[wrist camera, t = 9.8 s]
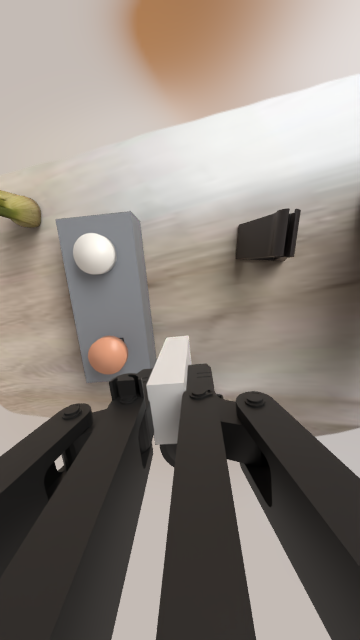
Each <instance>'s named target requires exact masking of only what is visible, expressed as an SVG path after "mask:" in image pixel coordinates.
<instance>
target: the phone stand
mask: <svg viewBox="0 0 360 640" xmlns="http://www.w3.org/2000/svg"><path fill="white" fill-rule="evenodd" d="M300 211H301V210H299V209H295V213H292V214H289V209H282V210H279V211H277V212H276V213H274V214H272V215H269V216H266V217H262V218H259V219H256V220H253V221H250V222H247V223H243V224H240V225H239V231H238V242H237V253H236V259H250V260H273V261H285V260H286V259H287V258H288V257H294V253H295V246H296V239H297V232H298V225H299V218H300Z"/></svg>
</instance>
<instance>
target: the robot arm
mask: <svg viewBox="0 0 360 640" xmlns="http://www.w3.org/2000/svg"><path fill="white" fill-rule="evenodd" d="M109 385H110V391H111V396H112V402H111V403H110V405H109V406H108V408H107V409H105V410H101V411H97V412H93V413H92V411H91V407H90V406H89V405H88V404H75V405H74V404H73V405H70V406H69V407H66V408H64V409H63V410H61V411H59V412H58V413H57V414H55V415H54V416H53V417H51V418H50V419H49V420H48V421H46V422H45V423H44V424H42V425H41V426H40V427H38V428H37V429H36V430H34V431H33V432H32V433H31V434H29V435H28V436H27V437H25V438H24V439H23V440H21V441H20V442H19V443H17V444H16V445H15V446H14V447H12V448H11V449H10V450H9V451H7V452H6V453H4V454H3V455H2V456H0V640H111V638H112V634H113V629H114V625H115V620H116V616H117V612H118V607H119V603H120V598H121V594H122V589H123V585H124V581H125V576H126V571H127V567H128V563H129V558H130V554H131V549H132V545H133V540H134V536H135V532H136V527H137V523H138V518H139V514H140V510H141V505H142V501H143V496H144V492H145V487H146V483H147V479H148V474H149V470H150V465H151V461H152V456H153V448H152V438H153V435H154V439H155V445H158V444H177V449H176V458H175V467H174V477H173V486H172V495H171V505H170V514H169V523H168V533H167V542H166V551H165V561H164V570H163V579H162V588H161V598H160V607H159V616H158V625H157V635H156V640H256V636H255V631H254V624H253V618H252V612H251V605H250V599H249V594H248V587H247V581H246V576H245V569H244V563H243V556H242V550H241V545H240V539H239V532H238V526H237V520H236V514H235V508H234V501H233V495H232V490H231V484H230V477H229V471H228V465H227V459H229V460H233V461H237V462H240V466H241V468H242V471H243V473H244V474H245V476H246V478H247V480H248V482H249V484H250V486H251V488H252V490H253V491H254V493H255V495H256V497H257V499H258V501H259V503H260V505H261V507H262V509H263V510H264V512H265V514H266V516H267V518H268V520H269V522H270V524H271V525H272V527H273V529H274V531H275V533H276V535H277V537H278V538H279V541H280V542H281V545H282V546H283V548H284V550H285V552H286V554H287V556H288V558H289V560H290V561H291V563H292V565H293V567H294V569H295V571H296V573H297V575H298V577H299V579H300V580H301V582H302V584H303V586H304V588H305V590H306V592H307V594H308V596H309V598H310V599H311V601H312V603H313V605H314V607H315V609H316V611H317V613H318V614H319V617H320V618H321V620H322V622H323V624H324V626H325V628H326V630H327V632H328V634H329V635H330V637H331V639H332V640H360V478H359V477H358V476H356V475H355V474H354V473H353V472H352V471H351V470H350V469H349V468H348V467H347V466H345V464H343V463H342V462H341V461H340V460H339V459H338V458H337V457H336V456H335V455H334V454H333V453H331V452H330V451H329V450H328V449H327V448H326V447H325V446H324V445H323V444H322V443H321V442H319V441H318V440H317V439H316V438H315V437H314V436H313V435H312V434H311V433H310V432H309V431H308V430H306V429H305V428H304V427H303V426H302V425H301V424H300V423H299V422H298V421H297V420H296V419H295V418H293V417H292V416H291V415H290V414H289V413H288V412H287V411H286V410H285V409H284V408H283V407H281V406H280V405H279V404H278V403H277V402H276V401H275V400H274V399H273V398H272V397H270V396H268V395H267V394H264V393H261V392H255V391H251V392H245V393H242V394H240V395H239V396H238V397H237V398H236V402H233V401H227V400H224V399H221V398H220V397H218V396H217V395H216V393H215V391H214V385H213V378H212V372H211V367H210V366H208V365H207V364H195V365H192V363H191V354H190V344H189V336H178V337H167V338H166V340H165V342H164V345H163V347H162V349H161V352H160V354H159V357H158V359H157V361H156V364H155V366H154V368H152V369H142V370H141V371H140V372H138V373H137V374H136V373H127V374H122V375H119V376H116V377H115V378H113V379H111V380H110V381H109ZM61 454H62V458H63V462H64V466H63V467H62V468H61V469H59V470H58V471H57V469H56V466H55V462H54V461H55V460H56V459H57V458H58V457H59V456H60V455H61Z"/></svg>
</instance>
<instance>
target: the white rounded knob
mask: <svg viewBox="0 0 360 640" xmlns="http://www.w3.org/2000/svg"><path fill="white" fill-rule="evenodd" d="M73 257H74V260H75V262H76V264H77V266H78V267H79V268H80V269H81V270H83V271H84V272H86V273H88V274H104V273H107V272H109V271H110V270H111V269H112V268H113V267H114V265H115V263H116V258H117V255H116V250H115V247H114V245H113V244H112V242H111V241H110V240H109V239H107V238H106V237H104V236H101V235H99V234H96V233H87V234H84V235H82V236H80V237H79V238H78V239H77V241H76V242H75V244H74V247H73Z"/></svg>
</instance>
